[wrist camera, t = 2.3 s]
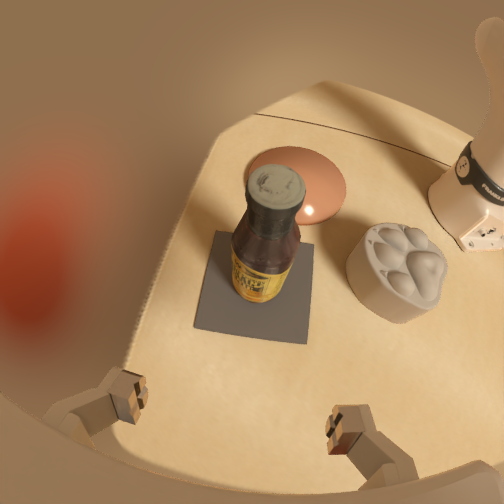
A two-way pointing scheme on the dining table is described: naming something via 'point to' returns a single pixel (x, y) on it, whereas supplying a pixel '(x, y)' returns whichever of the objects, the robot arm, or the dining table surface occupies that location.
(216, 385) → the dining table surface
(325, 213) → the terracotta plate
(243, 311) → the rubber mat
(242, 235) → the sauce bottle
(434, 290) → the lumpy-topped squat cylinder
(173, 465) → the dining table surface
